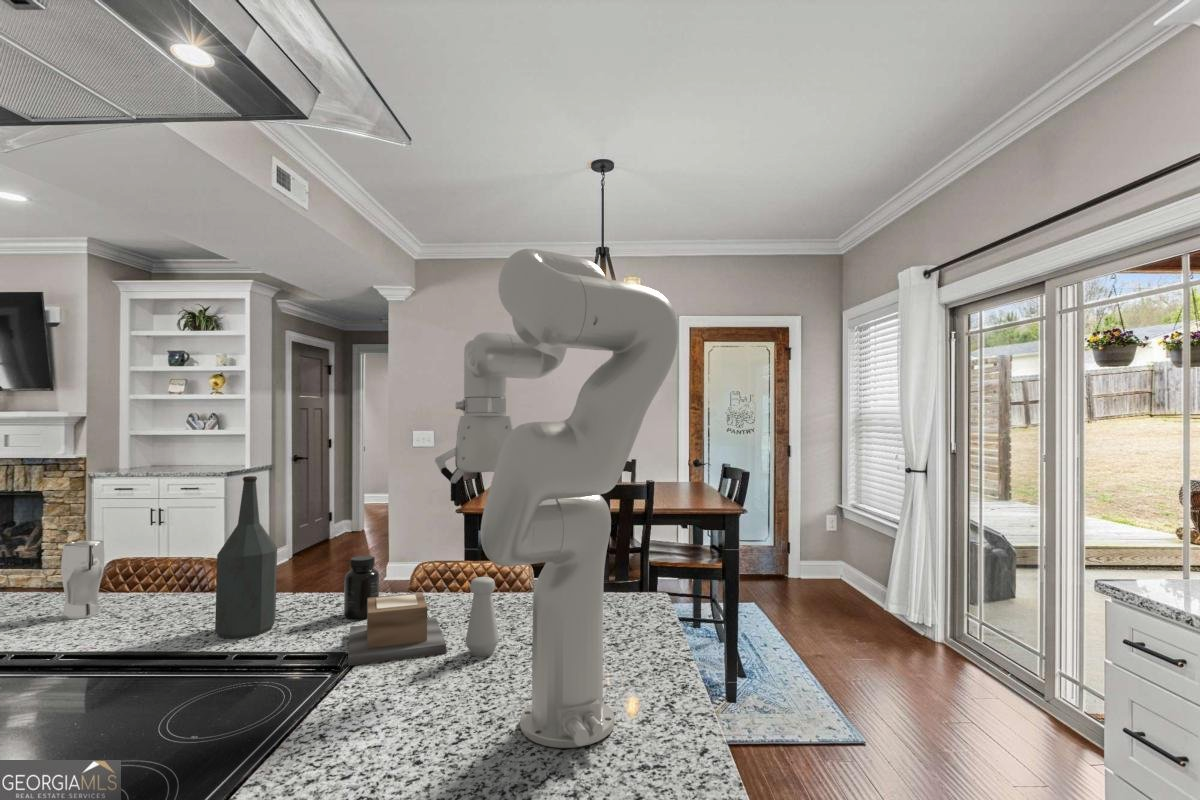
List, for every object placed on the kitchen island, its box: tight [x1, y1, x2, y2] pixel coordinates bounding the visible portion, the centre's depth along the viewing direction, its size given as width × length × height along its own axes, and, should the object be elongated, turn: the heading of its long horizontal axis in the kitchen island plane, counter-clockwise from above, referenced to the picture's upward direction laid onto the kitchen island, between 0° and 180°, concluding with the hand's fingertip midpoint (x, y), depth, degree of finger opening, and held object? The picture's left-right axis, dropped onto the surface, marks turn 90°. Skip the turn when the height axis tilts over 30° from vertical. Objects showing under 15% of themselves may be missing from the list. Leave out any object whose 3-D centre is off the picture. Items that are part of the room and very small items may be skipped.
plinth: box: [347, 592, 447, 667], centre depth 112 cm, size 16×16×8 cm
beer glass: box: [60, 539, 105, 620], centre depth 128 cm, size 7×7×15 cm
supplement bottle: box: [343, 555, 380, 621], centre depth 128 cm, size 7×7×12 cm
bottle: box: [214, 475, 278, 640], centre depth 119 cm, size 10×10×30 cm
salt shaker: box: [465, 576, 500, 658], centre depth 107 cm, size 6×6×13 cm
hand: (484, 504), depth 108 cm, fingers open, 9 cm apart
